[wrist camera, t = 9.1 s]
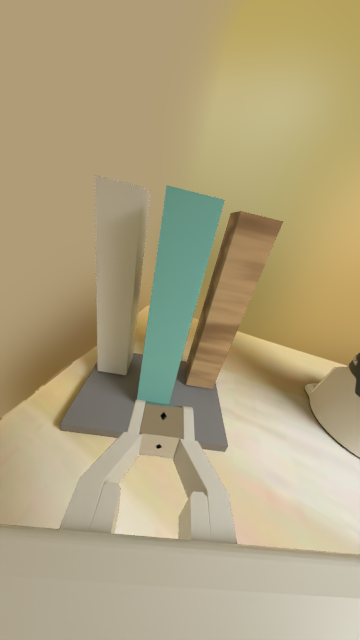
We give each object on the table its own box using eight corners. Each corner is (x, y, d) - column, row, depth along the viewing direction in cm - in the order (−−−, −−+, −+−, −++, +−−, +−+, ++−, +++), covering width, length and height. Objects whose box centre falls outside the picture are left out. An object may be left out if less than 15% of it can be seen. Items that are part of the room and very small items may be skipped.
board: (224, 451, 26) (227, 446, 26) (61, 430, 24) (59, 423, 24) (210, 371, 40) (212, 366, 40) (105, 354, 38) (105, 348, 38)
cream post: (126, 375, 32) (142, 186, 19) (97, 370, 32) (94, 174, 19) (132, 357, 37) (150, 193, 24) (107, 352, 36) (111, 183, 23)
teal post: (168, 407, 29) (224, 199, 15) (136, 402, 28) (166, 185, 15) (170, 382, 33) (215, 204, 20) (142, 378, 33) (170, 193, 19)
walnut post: (212, 389, 34) (283, 221, 21) (186, 384, 33) (241, 211, 20) (208, 369, 38) (265, 221, 25) (185, 365, 38) (230, 213, 25)
